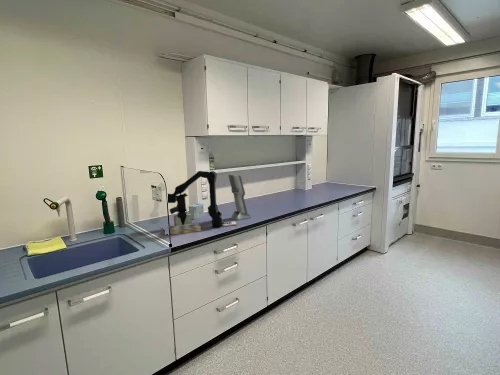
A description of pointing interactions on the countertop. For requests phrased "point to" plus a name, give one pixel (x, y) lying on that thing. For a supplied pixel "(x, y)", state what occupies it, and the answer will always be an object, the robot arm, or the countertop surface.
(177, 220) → the door panel
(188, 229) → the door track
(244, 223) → the countertop surface
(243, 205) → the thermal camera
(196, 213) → the light bulb box
